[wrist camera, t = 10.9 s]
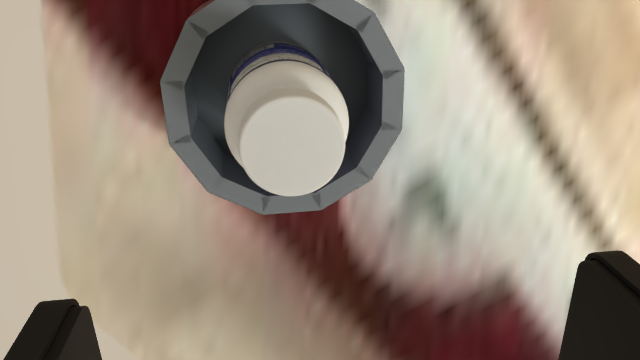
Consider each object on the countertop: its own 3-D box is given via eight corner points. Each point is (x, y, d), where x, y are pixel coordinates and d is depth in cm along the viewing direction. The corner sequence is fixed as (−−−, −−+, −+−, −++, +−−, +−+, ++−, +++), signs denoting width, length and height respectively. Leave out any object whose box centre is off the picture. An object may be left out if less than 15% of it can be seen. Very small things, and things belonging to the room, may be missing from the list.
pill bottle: (326, 139, 29) (356, 213, 21) (229, 138, 28) (221, 215, 20) (332, 40, 27) (368, 80, 18) (227, 37, 26) (218, 76, 18)
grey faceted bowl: (414, 111, 30) (441, 137, 26) (254, 210, 31) (255, 250, 27) (314, -72, 25) (327, -76, 21) (131, 52, 26) (110, 71, 22)
